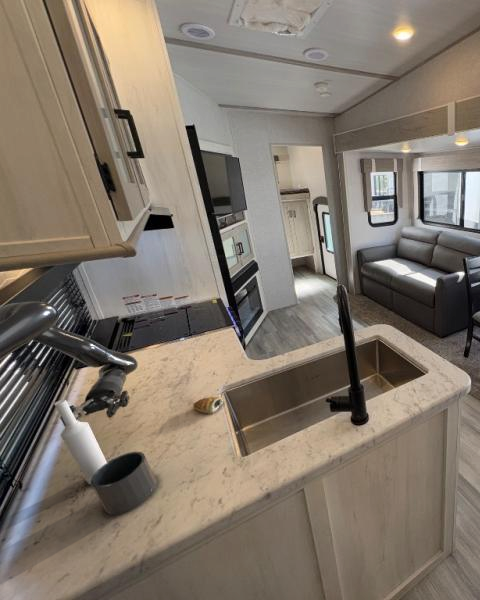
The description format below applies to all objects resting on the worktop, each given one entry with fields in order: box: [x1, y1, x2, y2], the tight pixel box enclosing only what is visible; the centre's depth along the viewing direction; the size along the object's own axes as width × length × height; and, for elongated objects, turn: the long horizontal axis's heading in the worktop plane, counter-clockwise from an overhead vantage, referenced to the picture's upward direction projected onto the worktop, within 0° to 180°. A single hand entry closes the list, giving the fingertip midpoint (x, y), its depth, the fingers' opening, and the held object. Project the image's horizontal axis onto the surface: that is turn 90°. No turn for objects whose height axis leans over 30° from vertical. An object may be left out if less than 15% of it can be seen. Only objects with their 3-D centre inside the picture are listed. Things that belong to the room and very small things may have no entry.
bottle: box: [53, 398, 108, 485], centre depth 80 cm, size 5×5×25 cm
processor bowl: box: [90, 451, 158, 516], centre depth 77 cm, size 10×10×9 cm
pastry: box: [192, 395, 224, 414], centre depth 109 cm, size 9×7×4 cm
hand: (89, 421), depth 86 cm, fingers open, 8 cm apart
